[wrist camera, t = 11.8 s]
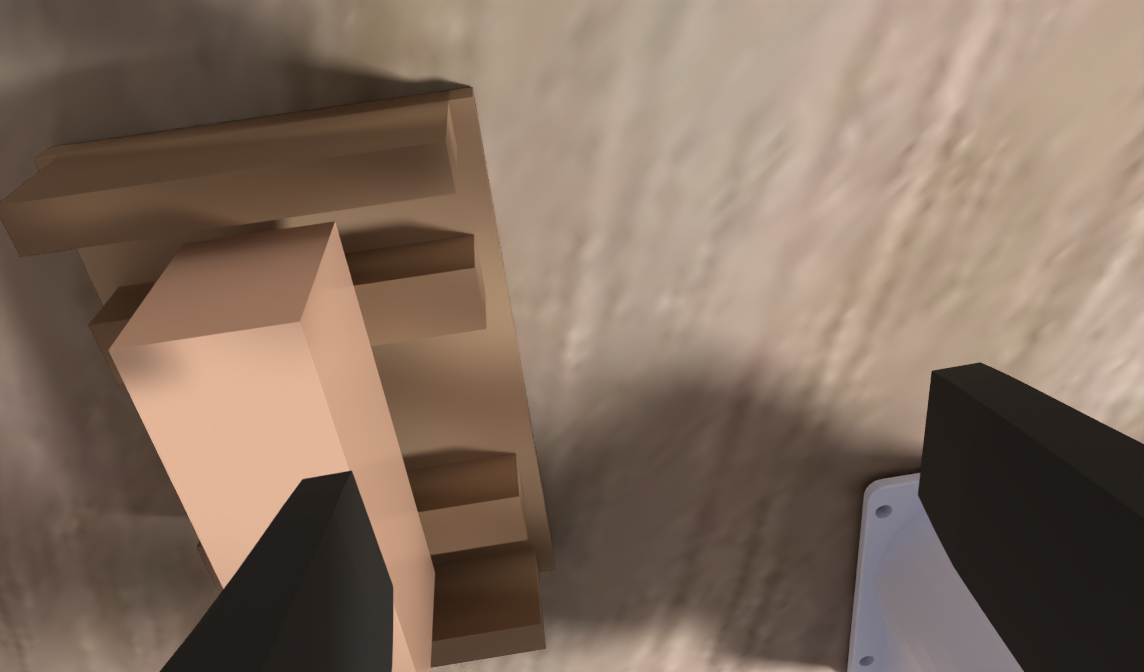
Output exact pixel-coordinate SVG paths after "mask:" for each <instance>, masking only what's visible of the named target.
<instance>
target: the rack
mask: <svg viewBox="0 0 1144 672" xmlns="http://www.w3.org/2000/svg"><path fill="white" fill-rule="evenodd" d="M34 160H35V162H36V164H37V167H38V169H39V172H38V173H36V174H35V175H34V176H32V177H31V178H30V179H29V180H27V181H26V182H25V183H23V184H22V185H21V186H20V187H18V188H17V189H16V190H14V191H13V192H12V193H11V194H9V195H8V196H7V197H5V198H4V199H3V200H2V201H0V218H1V220H2V222H3V224H4V226H5V228H6V230H7V232H8V234H9V236H10V238H11V240H12V242H13V244H14V246H15V248H16V249H17V251H18V253H19V255H20V257H24V256H31V255H37V254H44V253H51V252H58V251H65V250H72V249H77V252H78V254H79V256H80V258H81V260H82V262H83V264H84V266H85V269H86V271H87V273H88V275H89V277H90V279H91V281H92V283H93V286H94V288H95V290H96V292H97V294H98V296H99V298H100V300H101V303H102V305H103V307H102V309H101V310H100V311H99V313H98V314H97V315H96V316H95V318H94V319H93V320H92V321H91V323H90V324H89V327H90V329H91V331H92V333H93V336H94V338H95V340H96V342H97V344H98V346H99V348H100V350H101V352H102V354H103V356H104V358H105V360H106V362H107V364H108V366H109V368H110V370H111V372H112V374H113V377H114V379H115V381H116V383H117V385H120V384H124V382H123V380H122V378H121V376H120V373H119V371H118V369H117V367H116V365H115V363H114V361H113V359H112V357H111V355H110V353H109V351H108V350H109V349H110V347H111V346H112V344H113V343H114V342H115V340H116V339H117V337H118V336H119V334H120V333H121V332H122V330H123V329H124V327H125V326H126V325H127V323H128V322H129V320H130V319H131V317H132V316H133V315H134V313H135V312H136V310H137V309H138V307H139V306H140V305H141V303H142V302H143V300H144V299H145V298H146V296H147V295H148V293H149V292H150V290H151V289H152V288H153V286H154V285H155V283H156V282H157V280H158V279H159V278H160V276H161V275H162V273H163V272H164V271H165V269H166V268H167V266H168V265H169V263H170V262H171V261H172V259H173V258H174V256H175V255H176V253H177V252H178V251H179V249H180V248H181V246H182V245H183V243H190V242H197V241H204V240H211V239H217V238H224V237H231V236H238V235H245V234H252V233H258V232H265V231H272V230H279V229H286V228H293V227H299V226H306V225H313V224H320V223H327V222H334V221H335V222H336V226H337V230H338V233H339V237H340V240H341V244H342V247H343V251H344V254H345V258H346V261H347V265H348V268H349V272H350V275H351V279H352V282H353V286H354V289H355V293H356V296H357V300H358V303H359V307H360V310H361V314H362V317H363V321H364V324H365V328H366V332H367V335H368V339H369V342H370V346H371V349H372V353H373V356H374V360H375V363H376V367H377V370H378V374H379V377H380V381H381V384H382V388H383V391H384V395H385V398H386V402H387V405H388V409H389V412H390V416H391V419H392V423H393V426H394V430H395V434H396V437H397V441H398V444H399V448H400V451H401V455H402V458H403V462H404V465H405V469H406V472H407V476H408V479H409V483H410V486H411V490H412V493H413V497H414V500H415V504H416V507H417V511H418V514H419V518H420V521H421V525H422V529H423V532H424V536H425V539H426V543H427V546H428V550H429V553H430V557H431V560H432V564H433V567H434V571H435V584H434V605H433V626H432V648H431V667H437V666H443V665H449V664H456V663H462V662H468V661H474V660H480V659H486V658H492V657H498V656H504V655H511V654H517V653H523V652H529V651H535V650H541V649H546V644H545V634H544V623H543V612H542V602H541V591H540V580H539V572H544V571H550V570H556V569H555V561H554V552H553V546H552V540H551V534H550V528H549V523H548V517H547V511H546V506H545V500H544V494H543V488H542V483H541V477H540V471H539V465H538V460H537V454H536V448H535V442H534V437H533V431H532V425H531V420H530V414H529V408H528V402H527V397H526V391H525V385H524V379H523V374H522V368H521V362H520V356H519V351H518V345H517V339H516V333H515V328H514V322H513V316H512V311H511V305H510V299H509V293H508V288H507V282H506V276H505V270H504V265H503V259H502V253H501V247H500V242H499V236H498V230H497V224H496V219H495V213H494V207H493V202H492V196H491V190H490V184H489V179H488V173H487V167H486V161H485V156H484V150H483V144H482V138H481V133H480V127H479V121H478V115H477V110H476V104H475V98H474V93H473V87H469V88H462V89H455V90H448V91H441V92H434V93H427V94H420V95H413V96H406V97H399V98H392V99H385V100H378V101H371V102H364V103H357V104H350V105H343V106H335V107H328V108H321V109H314V110H307V111H300V112H293V113H286V114H279V115H272V116H265V117H258V118H251V119H244V120H237V121H230V122H223V123H216V124H209V125H202V126H195V127H188V128H181V129H174V130H167V131H160V132H153V133H146V134H139V135H132V136H124V137H117V138H110V139H103V140H96V141H89V142H82V143H75V144H68V145H61V146H54V147H50V148H49V149H48V150H46V151H45V152H44V153H42V154H41V155H39V156H38V157H37V158H35V159H34ZM197 549H198V551H199V553H200V555H201V557H202V559H203V561H204V563H205V565H206V567H207V569H208V571H209V573H210V575H211V577H212V579H213V581H214V584H215V586H216V588H217V589H222V588H223V587H222V585H221V583H220V581H219V579H218V577H217V575H216V573H215V571H214V568H213V566H212V564H211V562H210V560H209V558H208V556H207V554H206V552H205V550H204V548H203V546H202V544H201V541H200V540H199V543H198V546H197Z"/></svg>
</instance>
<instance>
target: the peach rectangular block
mask: <svg viewBox="0 0 1144 672" xmlns="http://www.w3.org/2000/svg"><path fill="white" fill-rule="evenodd" d="M108 351H109V353H110V355H111V357H112V359H113V361H114V363H115V365H116V367H117V369H118V371H119V373H120V376H121V378H122V380H123V382H124V384H125V386H126V388H127V390H128V392H129V394H130V396H131V398H132V400H133V403H134V405H135V407H136V409H137V411H138V413H139V415H140V417H141V419H142V421H143V423H144V425H145V427H146V429H147V432H148V434H149V436H150V438H151V440H152V442H153V444H154V446H155V448H156V450H157V452H158V454H159V456H160V459H161V461H162V463H163V465H164V467H165V469H166V471H167V473H168V475H169V477H170V479H171V481H172V483H173V485H174V488H175V490H176V492H177V494H178V496H179V498H180V500H181V502H182V504H183V506H184V508H185V510H186V512H187V515H188V517H189V519H190V521H191V523H192V525H193V527H194V529H195V531H196V533H197V535H198V537H199V539H200V541H201V544H202V546H203V548H204V550H205V552H206V554H207V556H208V558H209V560H210V562H211V564H212V566H213V568H214V571H215V573H216V575H217V577H218V579H219V581H220V583H221V585H222V587H223V589H224V588H225V586H226V585H227V584H228V582H229V581H230V580H231V578H232V577H233V576H234V574H235V573H236V571H237V570H238V569H239V567H240V566H241V564H242V563H243V562H244V560H245V559H246V557H247V556H248V555H249V553H250V552H251V550H252V549H253V548H254V546H255V545H256V543H257V542H258V540H259V539H260V538H261V536H262V535H263V533H264V532H265V530H266V529H267V528H268V526H269V525H270V523H271V522H272V520H273V519H274V518H275V516H276V515H277V513H278V512H279V511H280V509H281V508H282V506H283V505H284V503H285V502H286V501H287V499H288V498H289V497H290V495H291V494H292V493H293V491H294V490H295V489H296V487H297V486H298V484H299V483H300V482H301V480H302V479H306V478H311V477H317V476H323V475H329V474H335V473H340V472H346V471H352V472H353V475H354V477H355V480H356V483H357V486H358V489H359V491H360V494H361V497H362V500H363V503H364V506H365V508H366V511H367V514H368V517H369V520H370V522H371V525H372V528H373V531H374V534H375V536H376V539H377V542H378V545H379V548H380V550H381V553H382V556H383V559H384V562H385V564H386V567H387V570H388V573H389V576H390V578H391V581H392V584H393V661H392V672H430V669H431V648H432V626H433V605H434V584H435V571H434V567H433V564H432V560H431V557H430V553H429V550H428V546H427V543H426V539H425V536H424V532H423V529H422V525H421V521H420V518H419V514H418V511H417V507H416V504H415V500H414V497H413V493H412V490H411V486H410V483H409V479H408V476H407V472H406V469H405V465H404V462H403V458H402V455H401V451H400V448H399V444H398V441H397V437H396V434H395V430H394V426H393V423H392V419H391V416H390V412H389V409H388V405H387V402H386V398H385V395H384V391H383V388H382V384H381V381H380V377H379V374H378V370H377V367H376V363H375V360H374V356H373V353H372V349H371V346H370V342H369V339H368V335H367V332H366V328H365V324H364V321H363V317H362V314H361V310H360V307H359V303H358V300H357V296H356V293H355V289H354V286H353V282H352V279H351V275H350V272H349V268H348V265H347V261H346V258H345V254H344V251H343V247H342V244H341V240H340V237H339V233H338V230H337V226H336V222H335V221H334V222H327V223H320V224H313V225H306V226H299V227H293V228H286V229H279V230H272V231H265V232H258V233H252V234H245V235H238V236H231V237H224V238H217V239H211V240H204V241H197V242H190V243H183V245H182V246H181V248H180V249H179V251H178V252H177V253H176V255H175V256H174V258H173V259H172V261H171V262H170V263H169V265H168V266H167V268H166V269H165V271H164V272H163V273H162V275H161V276H160V278H159V279H158V280H157V282H156V283H155V285H154V286H153V288H152V289H151V290H150V292H149V293H148V295H147V296H146V298H145V299H144V300H143V302H142V303H141V305H140V306H139V307H138V309H137V310H136V312H135V313H134V315H133V316H132V317H131V319H130V320H129V322H128V323H127V325H126V326H125V327H124V329H123V330H122V332H121V333H120V334H119V336H118V337H117V339H116V340H115V342H114V343H113V344H112V346H111V347H110V349H109V350H108Z"/></svg>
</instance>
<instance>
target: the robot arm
mask: <svg viewBox="0 0 1144 672" xmlns="http://www.w3.org/2000/svg"><path fill="white" fill-rule="evenodd" d="M884 505H885V506H884ZM881 506H883V507H882V508H880V509H878V508H879V507H881ZM392 661H393V584H392V581H391V578H390V576H389V573H388V570H387V567H386V564H385V562H384V559H383V556H382V553H381V550H380V548H379V545H378V542H377V539H376V536H375V534H374V531H373V528H372V525H371V522H370V520H369V517H368V514H367V511H366V508H365V506H364V503H363V500H362V497H361V494H360V491H359V489H358V486H357V483H356V480H355V477H354V475H353V472H352V471H346V472H340V473H335V474H329V475H323V476H317V477H311V478H306V479H302V480H301V482H300V483H299V484H298V486H297V487H296V489H295V490H294V491H293V493H292V494H291V495H290V497H289V498H288V499H287V501H286V502H285V503H284V505H283V506H282V508H281V509H280V511H279V512H278V513H277V515H276V516H275V518H274V519H273V520H272V522H271V523H270V525H269V526H268V528H267V529H266V530H265V532H264V533H263V535H262V536H261V538H260V539H259V540H258V542H257V543H256V545H255V546H254V548H253V549H252V550H251V552H250V553H249V555H248V556H247V557H246V559H245V560H244V562H243V563H242V564H241V566H240V567H239V569H238V570H237V571H236V573H235V574H234V576H233V577H232V578H231V580H230V581H229V582H228V584H227V585H226V586H225V588H224V589H223V590H222V592H221V593H220V594H219V596H218V597H217V599H216V600H215V601H214V603H213V604H212V605H211V607H210V608H209V609H208V611H207V612H206V613H205V615H204V616H203V617H202V619H201V620H200V622H199V623H198V624H197V625H196V627H195V628H194V629H193V631H192V632H191V633H190V635H189V636H188V637H187V638H186V640H185V641H184V642H183V643H182V645H181V646H180V647H179V648H178V650H177V651H176V652H175V653H174V655H173V656H172V657H171V658H170V660H169V661H168V662H167V663H166V664H165V666H164V667H163V668H162V669H161V671H160V672H392ZM847 672H1144V444H1142V443H1140V442H1138V441H1136V440H1134V439H1132V438H1130V437H1128V436H1126V435H1124V434H1122V433H1120V432H1119V431H1117V430H1115V429H1113V428H1111V427H1109V426H1107V425H1105V424H1103V423H1101V422H1099V421H1097V420H1095V419H1093V418H1091V417H1089V416H1087V415H1085V414H1083V413H1081V412H1079V411H1077V410H1076V409H1074V408H1072V407H1070V406H1068V405H1066V404H1064V403H1062V402H1060V401H1058V400H1056V399H1054V398H1052V397H1050V396H1048V395H1046V394H1045V393H1043V392H1041V391H1039V390H1037V389H1035V388H1033V387H1031V386H1029V385H1027V384H1025V383H1023V382H1021V381H1019V380H1017V379H1015V378H1013V377H1011V376H1009V375H1007V374H1005V373H1002V372H1000V371H998V370H996V369H994V368H992V367H989V366H987V365H985V364H983V363H974V364H969V365H963V366H957V367H951V368H945V369H940V370H934V371H932V374H931V383H930V391H929V400H928V409H927V418H926V426H925V435H924V444H923V453H922V462H921V470H920V473H916V474H910V475H903V476H897V477H891V478H885V479H880V480H876V481H874V482H873V483H871V484H870V485H869V486H868V487H867V488H866V490H865V493H864V500H863V510H862V521H861V531H860V542H859V552H858V563H857V573H856V584H855V594H854V605H853V615H852V626H851V636H850V647H849V657H848V668H847Z"/></svg>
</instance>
